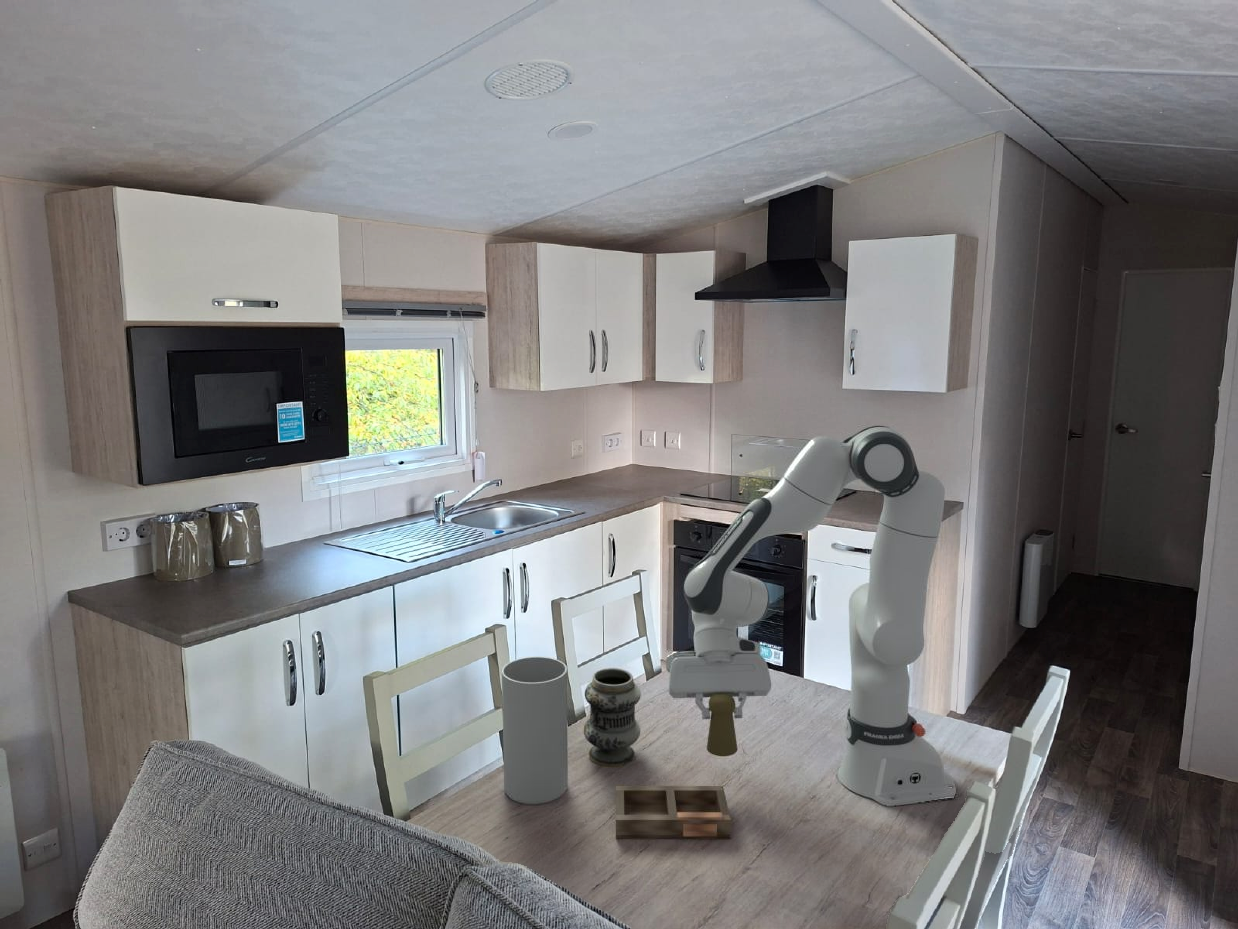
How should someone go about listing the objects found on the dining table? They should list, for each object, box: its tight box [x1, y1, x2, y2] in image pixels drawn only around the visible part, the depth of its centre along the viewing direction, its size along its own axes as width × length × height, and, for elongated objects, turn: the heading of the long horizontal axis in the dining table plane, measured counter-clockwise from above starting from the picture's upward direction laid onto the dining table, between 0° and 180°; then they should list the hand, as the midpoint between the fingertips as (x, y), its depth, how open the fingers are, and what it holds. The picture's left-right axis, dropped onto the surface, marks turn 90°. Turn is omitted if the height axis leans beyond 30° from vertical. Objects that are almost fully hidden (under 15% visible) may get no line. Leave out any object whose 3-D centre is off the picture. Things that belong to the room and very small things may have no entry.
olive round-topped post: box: [706, 693, 739, 757], centre depth 166 cm, size 6×6×11 cm
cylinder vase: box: [501, 656, 569, 805], centre depth 166 cm, size 12×12×25 cm
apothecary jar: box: [583, 667, 642, 768], centre depth 180 cm, size 12×12×18 cm
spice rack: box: [615, 785, 732, 840], centre depth 157 cm, size 20×11×4 cm, turn 90°
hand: (722, 718), depth 165 cm, fingers closed on olive round-topped post, 5 cm apart
